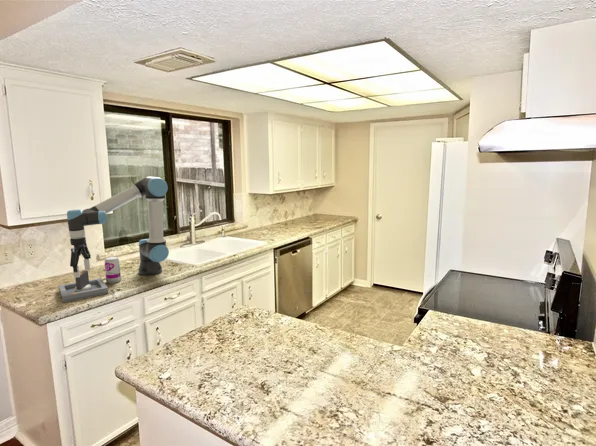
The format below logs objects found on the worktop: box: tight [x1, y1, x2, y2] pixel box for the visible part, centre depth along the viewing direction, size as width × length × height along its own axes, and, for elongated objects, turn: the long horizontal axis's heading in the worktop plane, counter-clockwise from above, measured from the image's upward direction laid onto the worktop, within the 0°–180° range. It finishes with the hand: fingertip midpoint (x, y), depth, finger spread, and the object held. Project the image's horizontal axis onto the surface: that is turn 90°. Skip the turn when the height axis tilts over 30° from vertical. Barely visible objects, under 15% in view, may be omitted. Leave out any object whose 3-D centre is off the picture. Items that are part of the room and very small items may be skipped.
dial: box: [74, 270, 91, 292], centre depth 210 cm, size 10×8×10 cm
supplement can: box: [104, 256, 122, 284], centre depth 229 cm, size 8×8×15 cm
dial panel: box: [58, 277, 109, 304], centre depth 211 cm, size 22×22×4 cm
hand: (82, 273), depth 210 cm, fingers open, 13 cm apart
